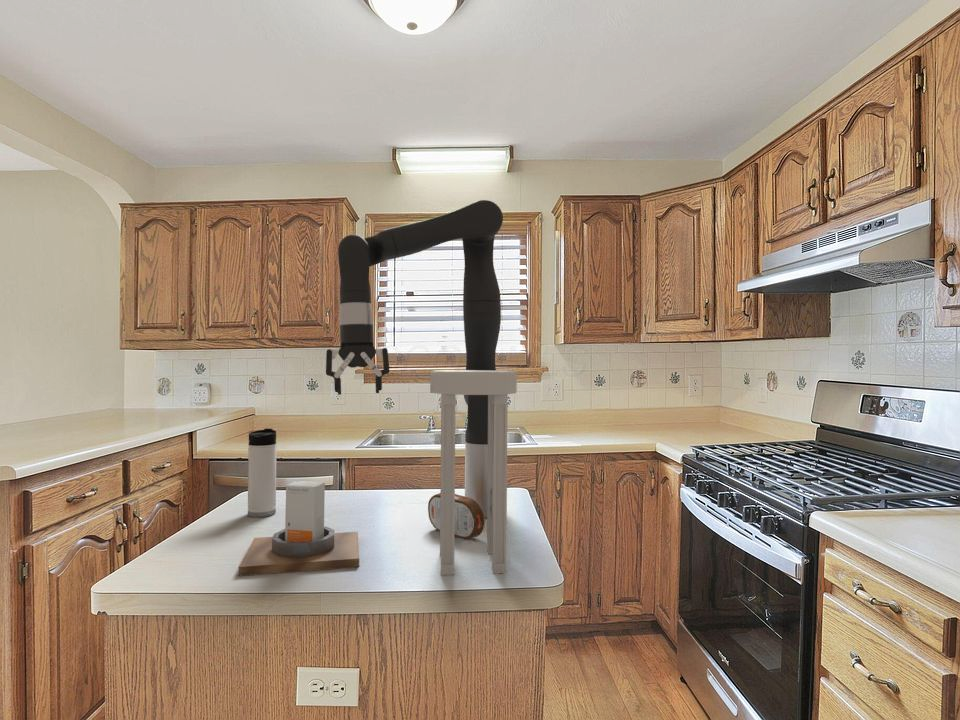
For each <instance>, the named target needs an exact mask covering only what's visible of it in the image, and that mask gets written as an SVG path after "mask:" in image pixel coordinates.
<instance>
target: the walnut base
mask: <svg viewBox="0 0 960 720" xmlns="http://www.w3.org/2000/svg"><path fill="white" fill-rule="evenodd" d="M272 538H273V536H263V537H254V538H253V540H252V541H251V544H250V545H249V547H248V549H247V551H246V552H245V555H244V556H243V558H242V560H241V561H240V564H239V565H238V575H243V576H255V574H257V575H267V574H282V573H292V572H293V573H295V572H308V571H310V572H311V571H320V570H321V571H322V570H333V569H334V570H336V569H347V568H348V569H349V568H359V567H360V548H359V547H360V545H359V531H347V532H345V531H344V532H335V542H334V548H333V549H332V550H330V551H328V552H327V553H324V554H320V555H316V556H312V557H304V558H287V557H279V556H277V555H275V554H274V553H272Z"/></svg>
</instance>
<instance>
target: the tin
mask: <svg viewBox="0 0 960 720" xmlns="http://www.w3.org/2000/svg"><path fill="white" fill-rule="evenodd" d="M440 498H441V492H439V493H436V494H434V495H432V496H431V497H430V498H429V500H428V504H427V511H428V513H427V515H428V519H429V522H430V523H431V525H432V526H433V528H434V529H435V530H436V531H438V530H439V531H438V532H440ZM485 522H486V521H485V517H484V514H483V511H482V509H481V507H480V506H479V504H478V503H477V502H476V501H475V500H473V499H472V498H469V497H465V495H461V494H460V495H459V494H456V493H455V523H454V537H455V536H457V537H456V538H458V537H460V538H459V539H461V538H463V540H465V539H467V540H471V539H474V538H478V537H479V536H481V535H482V533H483V531H484V528H485Z"/></svg>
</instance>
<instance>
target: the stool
mask: <svg viewBox="0 0 960 720" xmlns="http://www.w3.org/2000/svg"><path fill="white" fill-rule="evenodd" d="M517 377H518V376H517V372H515V371H512V370H496V371H493V370H466V369H445V370H444V369H441V370H438V369H435V370H432V371H431V372H430V377H429V380H430V381H429V383H430V389H429V390H430V391H429V393H430V394H437V395H439V394H440V397H441V398H440V399H441V400H440V401H441V403H440V404H441V405H440V406H441V407H440V493H441V498H440V531H439V534H440V535H439V538H440V539H439V557H440V556H441V557H440V576H454V575H455V536H454V523H455V494H456V489H455V488H456V399H457V398H456V395H460V396H464V395H488V475H487V517H486V525H487V526H486V554H487V553H488V554H487V556H488V555H490V556H491V571H493V572H492V574H493V575H500V574H499V573H506V574H507V538H508V537H507V532H508V531H507V530H508V529H507V528H508V527H507V519H508V518H507V516H508V515H507V514H508V512H507V511H508V507H507V506H508V404H509V403H508V399H509V397H508V396H509V395H512V394H517V381H518V380H517Z"/></svg>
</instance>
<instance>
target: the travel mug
mask: <svg viewBox="0 0 960 720" xmlns="http://www.w3.org/2000/svg"><path fill="white" fill-rule="evenodd" d="M247 448H248V450H247V451H248V452H247V453H248V454H247V456H248V457H247V462H248V463H247V474H248V475H247V516H249V517H250V518H265V517H266V518H267V517H270V516H273V515H275V514H276V511H277V509H276V508H277V507H276V506H277V430H274V429H273V428H268V427H267V428H264V429H257V430H253V431H251V432H249V433H248V447H247Z"/></svg>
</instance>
